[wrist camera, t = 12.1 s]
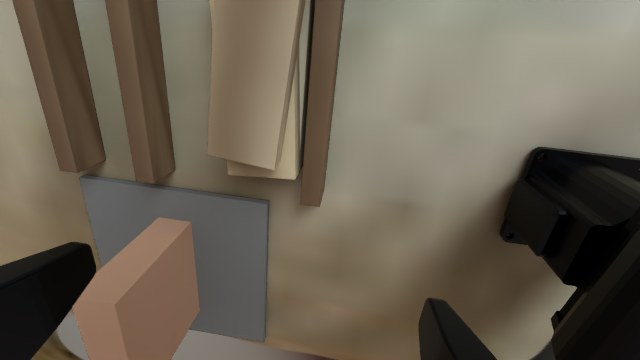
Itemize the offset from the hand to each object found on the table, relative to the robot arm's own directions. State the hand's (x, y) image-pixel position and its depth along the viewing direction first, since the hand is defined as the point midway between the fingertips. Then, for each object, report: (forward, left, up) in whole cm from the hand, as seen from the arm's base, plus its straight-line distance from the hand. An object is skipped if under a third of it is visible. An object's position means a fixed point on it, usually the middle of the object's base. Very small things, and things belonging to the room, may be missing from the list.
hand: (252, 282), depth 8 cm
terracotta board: (+10, +12, -12) cm, 20 cm away
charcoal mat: (+10, +12, -13) cm, 20 cm away
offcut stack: (+3, -4, -13) cm, 14 cm away
